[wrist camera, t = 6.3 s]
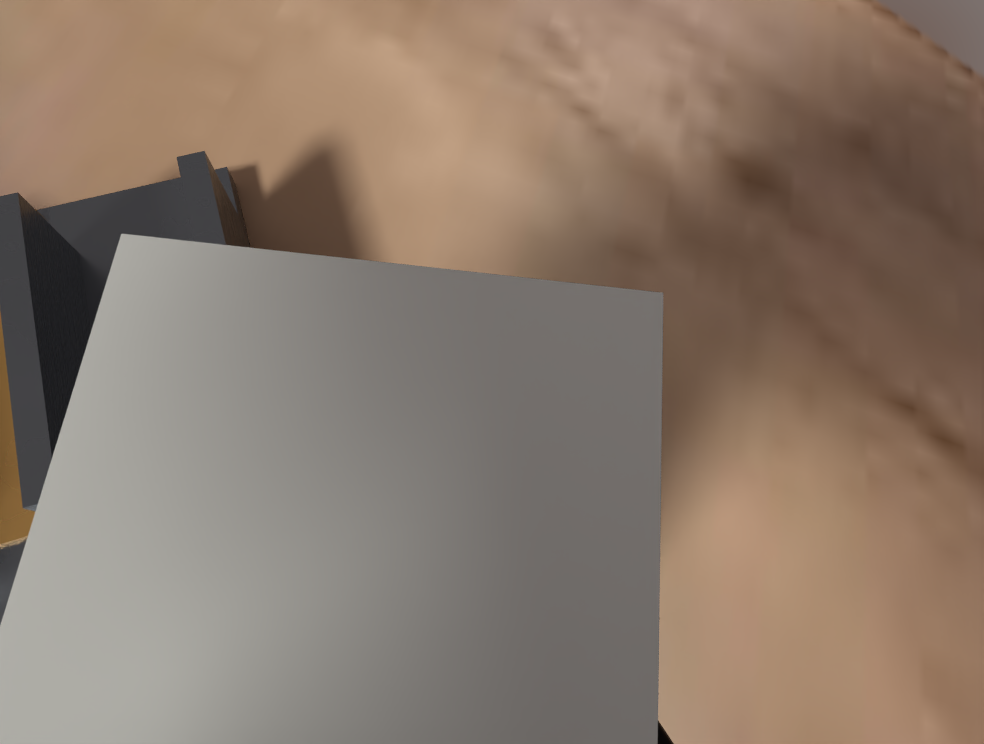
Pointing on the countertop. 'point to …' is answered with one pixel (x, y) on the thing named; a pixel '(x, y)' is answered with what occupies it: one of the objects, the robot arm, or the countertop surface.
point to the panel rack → (75, 312)
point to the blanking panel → (345, 510)
